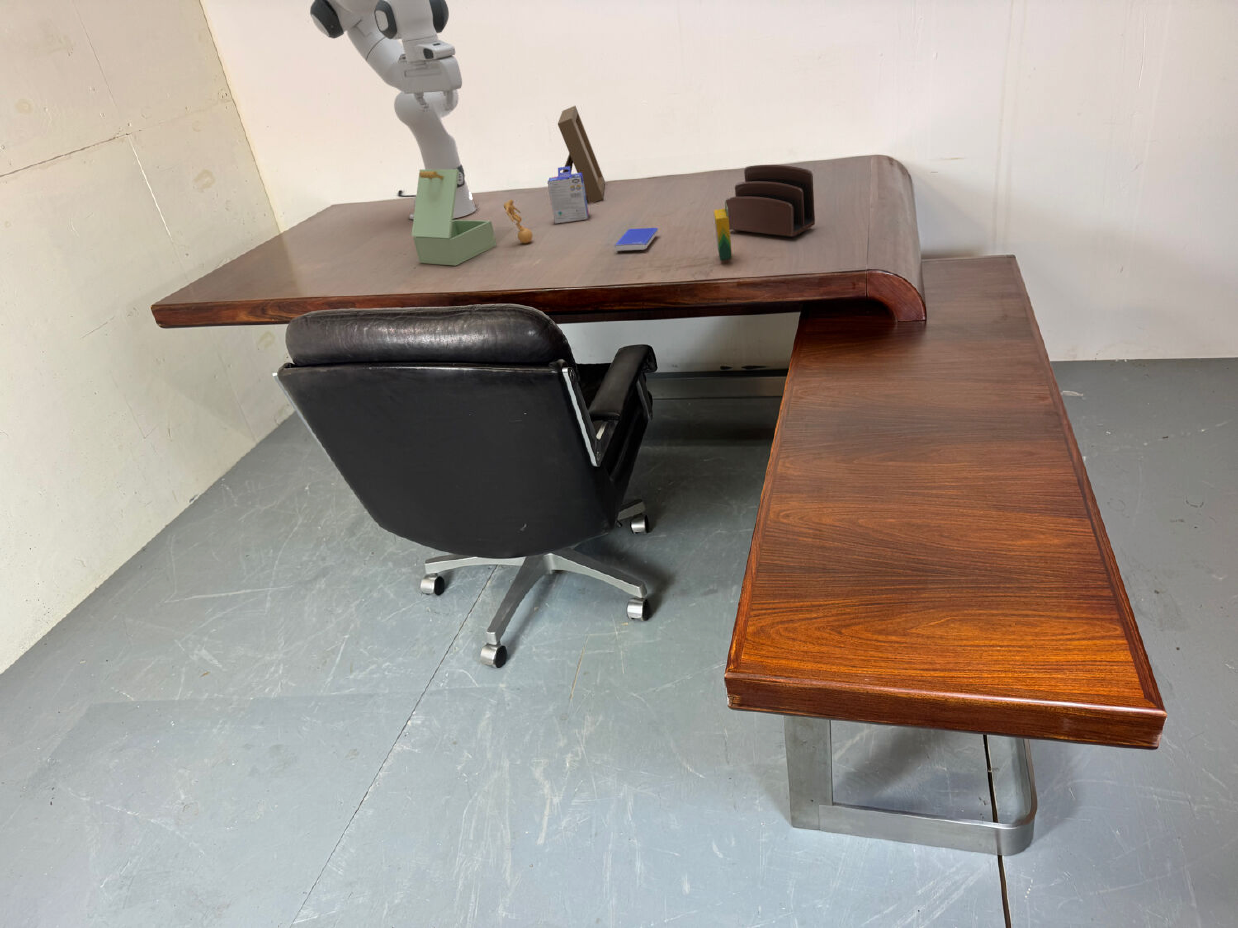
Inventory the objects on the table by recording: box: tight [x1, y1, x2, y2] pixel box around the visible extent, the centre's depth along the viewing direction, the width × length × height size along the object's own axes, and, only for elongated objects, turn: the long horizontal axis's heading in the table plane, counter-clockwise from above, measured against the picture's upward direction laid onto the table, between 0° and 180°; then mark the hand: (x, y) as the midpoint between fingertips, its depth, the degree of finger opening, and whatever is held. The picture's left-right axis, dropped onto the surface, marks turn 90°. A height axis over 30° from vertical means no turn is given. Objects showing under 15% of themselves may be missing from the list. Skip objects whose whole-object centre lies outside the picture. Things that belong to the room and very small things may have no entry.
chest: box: [412, 219, 497, 266], centre depth 228 cm, size 17×14×7 cm
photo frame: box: [557, 105, 606, 204], centre depth 260 cm, size 15×22×25 cm
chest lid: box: [411, 168, 459, 239], centre depth 218 cm, size 17×14×5 cm
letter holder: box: [724, 164, 816, 238], centre depth 206 cm, size 10×20×14 cm, turn 47°
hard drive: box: [614, 227, 659, 251], centre depth 214 cm, size 2×8×12 cm
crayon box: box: [713, 200, 733, 261], centre depth 193 cm, size 7×3×12 cm, turn 178°
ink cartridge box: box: [547, 166, 590, 224], centre depth 240 cm, size 10×6×14 cm, turn 89°
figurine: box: [503, 199, 533, 244], centre depth 226 cm, size 8×6×12 cm
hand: (437, 111), depth 215 cm, fingers open, 8 cm apart
